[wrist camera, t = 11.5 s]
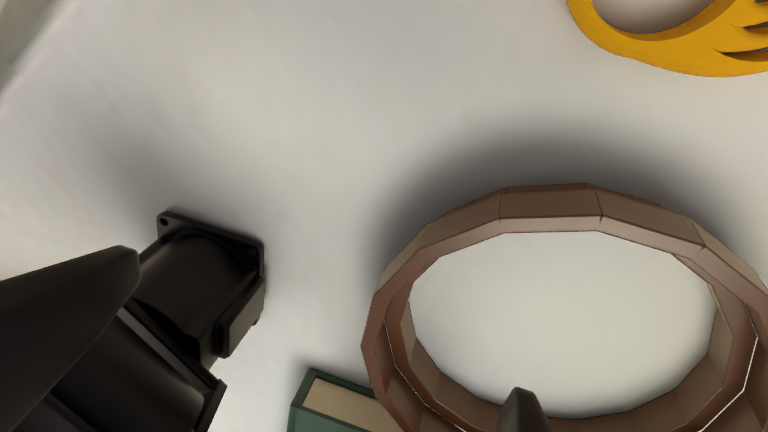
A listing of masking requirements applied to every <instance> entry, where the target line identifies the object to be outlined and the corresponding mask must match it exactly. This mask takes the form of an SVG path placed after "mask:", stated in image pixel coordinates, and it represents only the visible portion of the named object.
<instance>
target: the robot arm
mask: <svg viewBox="0 0 768 432" xmlns="http://www.w3.org/2000/svg"><path fill="white" fill-rule="evenodd" d="M157 229H158V239H157V240H156V241H155V242H154V243H152V244H151V245H150V246H149V247H147V248H146V249H145V250H144V251H143V252H141V253H140V254H139V255H138V253H137V251H136V250H134V249H131V248H128V247H126V246H123V245H117V246H113V247H110V248H107V249H104V250H100V251H97V252H94V253H90V254H87V255H84V256H81V257H77V258H74V259H71V260H68V261H64V262H61V263H58V264H55V265H51V266H48V267H45V268H42V269H38V270H35V271H32V272H28V273H25V274H22V275H19V276H15V277H12V278H9V279H6V280H2V281H0V432H207V431H208V429H209V426H210V424H211V422H212V420H213V418H214V415H215V413H216V411H217V409H218V406H219V404H220V402H221V400H222V397H223V395H224V393H225V391H226V388H227V385H226V384H225V383H224V382H223V381H222V380H221V379H217V378H216V377H215V376H214V375H213V374H212V373H211V372H210V371H209V369H210V368H211V367H212V365H213V364H214V363H215V361H216V360H217V358H218V357H220V358H223V359H226V358H228V357H229V356H230V355H231V354H232V353H233V351H234V350H235V348H236V347H237V346H238V344H239V343H240V341H241V340H242V338H243V337H244V336H245V334H246V333H247V331H248V330H249V329H250V327H251V326H253V325H255V324H256V323H257V322H258V320H259V318H260V313H261V312H262V310H263V305H264V291H265V279H264V277H263V276H262V274H263V259H264V247H263V246H262V244H261V243H259V242H258V241H255V240H252V239H249V238H246V237H243V236H240V235H237V234H234V233H231V232H228V231H225V230H222V229H219V228H216V227H214V226H211V225H208V224H205V223H202V222H199V221H196V220H193V219H190V218H187V217H184V216H181V215H178V214H175V213H172V212H169V211H163V212H162V213H160V214H159V215H158V216H157ZM252 248H253V249H255V250H256V251H254V250H253V249H252ZM496 432H553V431H552V429H551V427H550V425H549V423H548V421H547V418H546V416H545V414H544V412H543V410H542V408H541V406H540V403H539V401H538V399H537V397H536V395H535V394H534V393H533V392H531V391H528V390H525V389H523V388H520V387H515V388H514V389H513V390H512V391H511V393H510V395H509V396H508V398H507V400H506V401H505V403H504V405H503V406H502V408H501V411H500V413H499V417H498V423H497V429H496Z"/></svg>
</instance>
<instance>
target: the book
mask: <svg viewBox="0 0 768 432" xmlns="http://www.w3.org/2000/svg"><path fill="white" fill-rule="evenodd" d="M442 417H443V416H442ZM443 418H445V419H446V420H448V419H447V418H446V417H443ZM448 421H449V422H451V421H450V420H448ZM451 423H452V424H454V423H453V422H451ZM454 425H455V424H454ZM287 432H404V431H403V430H402V429H401V428H400V427H399V425H398V424H397V423H396V422H395V420H394V419H393V418H392V417H391V415H390V414H389V413H388V412H387V410H386V409H385V408H384V407H383V405H382V404H381V403H380V402H379V401H378V399H377V398H376V397H375V395H374V392H373V391H372V390H369V389H366V388H363V387H361V386H358V385H355V384H352V383H350V382H347V381H344V380H341V379H339V378H336V377H333V376H330V375H328V374H325V373H322V372H319V371H316V370H314V369H310V368H309V370H308V371H307V373H306V375H305V377H304V379H303V381H302V383H301V385H300V387H299V389H298V391H297V393H296V395H295V397H294V399H293V401H292V403H291V405H290V412H289V419H288V426H287Z"/></svg>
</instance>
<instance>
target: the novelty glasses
mask: <svg viewBox="0 0 768 432" xmlns="http://www.w3.org/2000/svg"><path fill="white" fill-rule="evenodd" d="M755 1H756V0H714V1H713V2H712V3H711V4H710V5H709V6H708V7H707V8H706V9H704V10H703V11H702V12H700V13H699V14H698V15H697V16H695V17H693V18H692V19H690V20H688V21H687V22H685V23H683V24H681V25H678V26H676V27H674V28H671V29H668V30H664V31H660V32H656V33H642V34H636V33H630V32H625V31H622V30H619V29H616V28H614V27H612V26H611V25H609V24H607V23H606V22H604V21H603V20H602V19H601V18H600V16H599V15H598V13H597V12H596V10H595V8H594V6H593V3H592V1H591V0H567V4H568V7H569V9H570V12H571V14H572V16H573V18H574V20H575V22H576V23H577V25H578V26H579V28H580V29H581V30H582V32H583V33H584V34H585V35H586V36H587V37H588V38H589V39H590V40H591V41H593V42H594V43H595V44H597V45H598V46H599V47H601V48H603V49H605V50H607V51H608V52H611V53H613V54H616V55H620V56H623V57H628V58H632V59H635V60H638V61H641V62H644V63H647V64H650V65H653V66H656V67H660V68H663V69H667V70H671V71H675V72H680V73H684V74H690V75H697V76H708V77H732V76H743V75H750V74H756V73H760V72H765V71H768V51H762V52H746V53H735V52H741V51H749V50H756V49H760V48H765V47H768V26H767V27H762V28H755V29H744V28H743V27H745V26H750V25H755V24H759V23H763V22H767V21H768V1H765V2H760V3H756V2H755Z"/></svg>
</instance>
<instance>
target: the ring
mask: <svg viewBox="0 0 768 432" xmlns="http://www.w3.org/2000/svg"><path fill="white" fill-rule="evenodd" d="M578 231H599V232H602V233H605V234H608V235H612V236H615V237H618V238H622V239H625V240H628V241H631V242H635V243H638V244H641V245H645V246H648V247H651V248H654V249H658V250H661V251H664V252H668V253H670V254H672V255H673V256H674V257H675V258H677V259H678V260H679V261H681V262H682V263H683V264H684V265H686V266H687V267H688V268H689V269H691V270H692V271H693V272H694V273H696V274H697V275H698V276H699V277H701V278H702V279H703V280H705V281H706V282H707V285H708V287H709V289H710V292H711V294H712V296H713V299H714V301H715V303H716V306H717V310H716V315H715V320H714V325H713V330H712V335H711V340H710V345H709V350H708V354H707V355H706V356H705V357H704V358H703V359H702V360H701V361H700V363H699V364H698V365H697V366H696V367H695V368H694V369H693V370H692V371H691V373H690V374H689V375H688V376H687V377H686V378H685V379H684V380H683V381H682V383H681V384H680V385H679V386H678V387H677V388H676V389H675V390H673V391H671V392H669V393H667V394H665V395H663V396H661V397H658V398H656V399H654V400H652V401H650V402H648V403H646V404H644V405H642V406H640V407H638V408H636V409H634V410H631V411H629V412H626V413H620V414H613V415H607V416H600V417H594V418H587V419H581V420H570V419H560V418H550V417H546V418H547V421H548V423H549V425H550V427H551V429H552V431H553V432H698V431H700V430H701V429H703V428H704V427H705V426H706V425H707V424H708V423H709V422H710V421H711V420H712V419H713V418H714V417H715V416H716V415H717V414H718V413H719V412H720V411H721V410H722V409H723V408H724V407H726V406H727V405H728V404H729V403H730V402H731V401H732V400H733V399H734V398H735V397H736V396H737V395H738V394H739V393H740V392H741V391H742V389H743V387H744V383H745V379H746V376H747V372H748V368H749V364H750V360H751V356H752V353H753V349H754V345H755V341H756V337H757V336H758V341H757V344H756V348H755V352H754V356H753V360H752V363H751V367H750V371H749V375H748V378H747V382H746V386H745V390H744V391H743V392H742V393H741V394H740V395H739V396H738V397H737V398H736V399H735V400H734V401H733V402H732V403H731V404H730V405H729V406H728V407H727V408H726V409H725V410H724V411H723V412H722V413H721V414H720V415H719V416H718V417H717V418H715V419H714V420H713V421H712V422H711V423H710V424H709V425H708V426H707V427H706V428H705V429H704V430H703V431H702V432H768V289H767V287H766V286H765V284H764V283H763V281H762V280H761V279H760V277H759V276H758V274H757V273H756V271H755V270H754V269H753V268H751V267H750V266H749V265H748V264H746V263H745V262H744V261H743V260H742V259H740V258H739V257H738V256H737V255H735V254H734V253H733V252H732V251H730V250H729V249H728V248H727V247H725V246H724V245H723V244H722V243H720V242H719V241H718V240H717V239H716V238H714V237H713V236H712V235H711V234H709V233H708V232H707V231H706V230H704V229H703V228H702V227H701V226H699V225H698V224H697V223H696V222H694V221H693V220H692V219H691V218H689V217H686V216H683V215H680V214H676V213H673V212H670V211H667V210H666V209H665V208H664V207H662V206H661V205H658V204H655V203H651V202H648V201H645V200H641V199H638V198H634V197H631V196H628V195H624V194H621V193H617V192H614V191H611V190H607V189H604V188H600V187H597V186H594V185H590V184H587V183H585V184H584V183H576V184H556V185H537V186H518V187H507V188H504V189H501V190H499V191H497V192H494V193H492V194H490V195H487V196H485V197H482V198H480V199H478V200H475V201H473V202H471V203H468V204H466V205H463V206H461V207H459V208H456V209H454V210H452V211H449V212H447V213H445V214H443V215H442V216H441V218H440V219H439V220H436V221H434V222H432V223H429V224H428V225H426V226H425V227H424V228H423V229H422V230H421V231H420V232H419V234H418V235H417V236H416V237H415V238H414V239H413V240H412V241H411V242H410V243H409V244H408V245H407V246H406V247H405V248H404V249H403V250H402V251H401V253H400V254H399V255H398V256H397V257H396V258H395V259H394V260H393V261H392V262H391V263H390V264H389V265H388V266H387V267H386V268H385V270H384V272H383V274H382V276H381V279H380V281H379V283H378V286H377V288H376V291H375V293H374V295H373V299H372V303H371V307H370V311H369V315H368V318H367V322H366V326H365V330H364V334H363V338H362V342H361V350H362V353H363V357H364V360H365V364H366V367H367V371H368V375H369V378H370V382H371V385H372V389H373V392H374V395H375V397H376V398H377V399H378V401H379V402H380V403H381V404H382V405H383V407H384V408H385V409H386V410H387V412H388V413H389V414H390V415H391V417H392V418H393V419H394V420H395V422H396V423H397V424H398V425H399V427H400V428H401V429H402V430H403V431H404V432H464V431H466V432H496V429H497V423H498V417H499V413H500V411H501V408H502V407H501V406H498V405H495V404H493V403H490V402H487V401H484V400H481V399H479V398H477V397H475V396H474V395H472V394H471V393H469V392H468V391H467V390H465V389H464V388H462V387H461V386H459V385H458V384H457V383H455V382H454V381H452V380H451V379H449V378H448V377H447V376H445V375H444V374H442V373H441V372H440V371H439V369H438V368H437V367H436V365H435V364H434V363H433V361H432V360H431V358H430V357H429V356H428V354H427V353H426V352H425V350H424V349H423V347H422V346H421V345H420V343H419V342H418V340H417V339H416V336H415V331H414V326H413V321H412V316H411V311H410V306H409V301H408V299H409V296H410V292H411V289H412V286H413V283H414V281H415V280H416V279H417V278H419V277H420V276H421V275H422V274H423V273H424V272H425V271H426V270H427V269H428V268H429V267H430V266H431V265H432V264H433V263H434V262H435V261H436V260H437V259H438V258H439V257H441V256H444V255H447V254H449V253H452V252H455V251H457V250H460V249H463V248H465V247H468V246H471V245H474V244H476V243H479V242H482V241H484V240H487V239H490V238H492V237H495V236H498V235H500V234H503V233H531V232H578ZM390 301H391V302H390ZM744 303H745V304H744ZM745 305H746V307H745ZM388 308H389V309H388ZM746 308H747V309H746ZM747 310H748V312H747ZM748 313H749V314H748ZM386 315H387V316H386ZM749 316H750V317H749ZM750 318H751V319H750ZM385 319H386V321H385ZM751 321H752V322H751ZM385 322H386V327H387V331H388V335H389V339H390V343H391V347H390V343H389V339H388V335H387V331H386V327H385ZM752 323H753V324H752ZM753 326H754V327H753ZM754 328H755V329H754ZM755 331H756V332H755ZM756 333H757V336H756ZM391 348H392V352H393V356H394V360H395V364H396V366H397V367H398V369H399V370H400V371H401V373H402V374H403V375H404V376H405V378H406V379H407V380H408V382H409V383H410V384H411V386H412V387H413V388H414V390H415V391H416V392H417V394H418V395H419V396H420V397H421V399H422V400H423V401H424V403H426V404H427V405H428V406H430V407H431V408H432V409H434V410H435V411H437V412H438V413H440V414H441V415H443V416H444V417H446V418H447V419H448V420H450V421H451V422H453V423H454V424H456V425H457V426H459V427H460V428H462V429H463V430H464V431H462V430H461V429H459V428H458V427H457V426H455V425H454V424H452V423H451V422H449V421H448V420H446V419H445V418H443V417H442V416H441V415H439V414H438V413H436V412H435V411H433V410H432V409H430V408H429V407H428V406H426V405H425V404H424V403H423V402H422V401H421V399H420V398H419V397H418V395H417V394H416V393H415V392H414V390H413V389H412V388H411V386H410V385H409V384H408V382H407V381H406V380H405V378H404V377H403V376H402V375H401V373H400V372H399V371H398V369H397V368H396V367H395V364H394V360H393V356H392V352H391Z"/></svg>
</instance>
